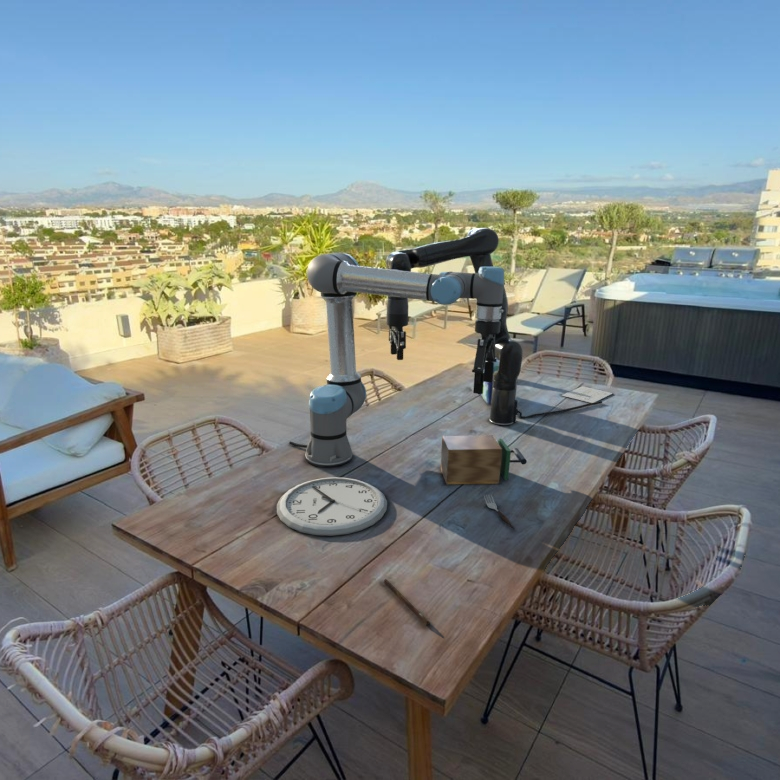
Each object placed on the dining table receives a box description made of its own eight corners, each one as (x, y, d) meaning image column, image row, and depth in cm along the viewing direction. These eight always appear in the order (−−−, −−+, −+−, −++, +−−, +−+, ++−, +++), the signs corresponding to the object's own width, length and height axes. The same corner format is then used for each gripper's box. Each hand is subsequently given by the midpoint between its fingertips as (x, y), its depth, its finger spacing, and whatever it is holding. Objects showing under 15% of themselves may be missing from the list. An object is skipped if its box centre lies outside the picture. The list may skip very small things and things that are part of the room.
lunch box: (475, 390, 246) (478, 346, 240) (498, 390, 246) (501, 347, 240) (484, 408, 221) (487, 360, 215) (509, 409, 221) (513, 360, 215)
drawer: (516, 465, 167) (518, 438, 164) (525, 479, 158) (528, 450, 155) (453, 466, 165) (455, 439, 162) (459, 480, 156) (461, 451, 153)
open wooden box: (489, 467, 167) (492, 435, 164) (499, 483, 157) (502, 449, 153) (440, 468, 166) (442, 435, 162) (446, 484, 156) (448, 449, 152)
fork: (509, 531, 131) (510, 524, 131) (482, 501, 146) (482, 494, 145) (519, 530, 132) (519, 523, 132) (491, 499, 147) (491, 493, 146)
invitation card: (582, 386, 254) (612, 393, 244) (582, 386, 255) (612, 393, 244) (561, 395, 240) (592, 402, 230) (561, 395, 240) (592, 403, 230)
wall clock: (392, 527, 129) (268, 531, 127) (391, 533, 130) (269, 537, 127) (383, 473, 158) (282, 475, 155) (383, 478, 158) (282, 480, 156)
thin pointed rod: (383, 582, 112) (383, 578, 112) (385, 582, 112) (385, 578, 112) (426, 626, 100) (426, 621, 100) (428, 625, 100) (428, 620, 100)
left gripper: (491, 327, 144) (486, 400, 150) (508, 314, 166) (502, 378, 172) (465, 325, 147) (460, 397, 153) (484, 312, 169) (480, 376, 175)
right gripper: (413, 314, 176) (412, 361, 181) (402, 308, 189) (401, 352, 194) (392, 315, 174) (391, 362, 179) (382, 308, 187) (381, 352, 192)
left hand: (483, 387), depth 163 cm, fingers open, 13 cm apart
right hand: (396, 356), depth 186 cm, fingers open, 8 cm apart
